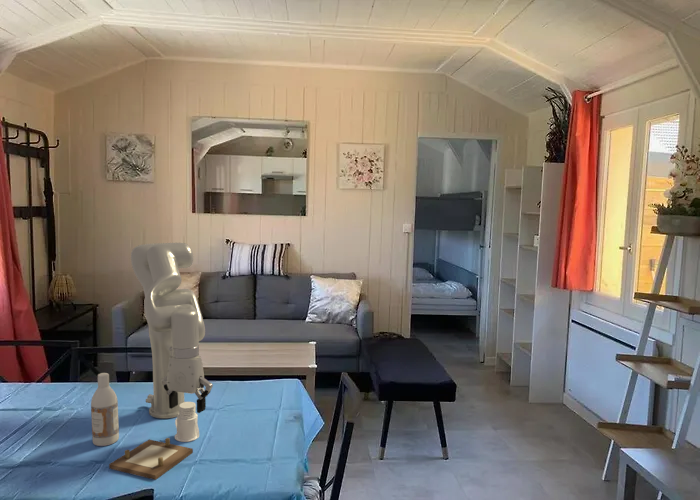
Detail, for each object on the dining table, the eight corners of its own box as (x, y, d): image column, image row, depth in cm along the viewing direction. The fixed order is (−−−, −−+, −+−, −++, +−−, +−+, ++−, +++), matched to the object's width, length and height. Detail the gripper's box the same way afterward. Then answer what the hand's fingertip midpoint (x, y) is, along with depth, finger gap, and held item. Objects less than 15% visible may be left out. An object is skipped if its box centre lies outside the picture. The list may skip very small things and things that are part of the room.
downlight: (168, 439, 156) (168, 406, 154) (183, 429, 162) (184, 397, 161) (190, 445, 153) (190, 412, 151) (205, 435, 159) (206, 403, 158)
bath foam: (87, 444, 152) (84, 377, 150) (105, 434, 158) (102, 369, 156) (106, 448, 150) (104, 379, 147) (124, 437, 156) (121, 371, 154)
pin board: (109, 468, 139) (108, 456, 139) (149, 443, 153) (148, 432, 153) (155, 479, 134) (155, 467, 133) (192, 452, 148) (192, 441, 147)
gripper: (152, 352, 154) (154, 409, 155) (202, 358, 148) (204, 418, 149) (169, 346, 161) (171, 400, 162) (218, 351, 155) (219, 408, 156)
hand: (187, 409), depth 156 cm, fingers open, 9 cm apart
